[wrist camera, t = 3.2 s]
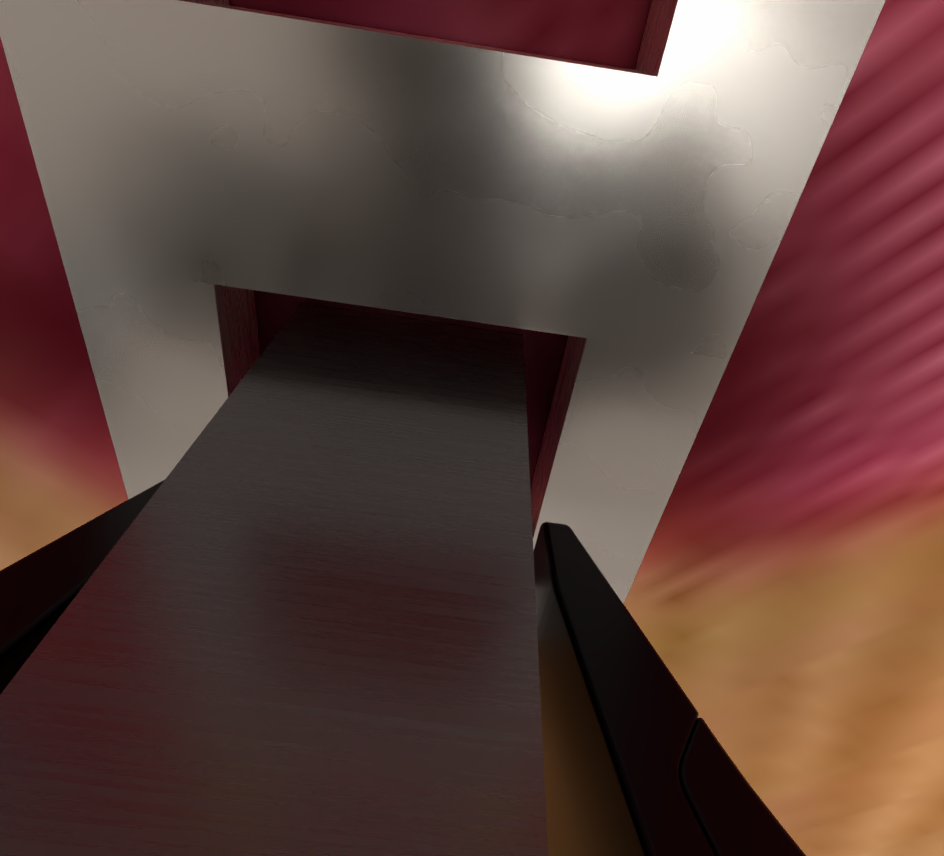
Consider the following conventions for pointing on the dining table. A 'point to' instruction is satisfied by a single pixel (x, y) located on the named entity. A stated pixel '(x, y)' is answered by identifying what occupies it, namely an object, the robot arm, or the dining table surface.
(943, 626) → the dining table surface
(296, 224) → the grey slotted board
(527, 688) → the steel peg
